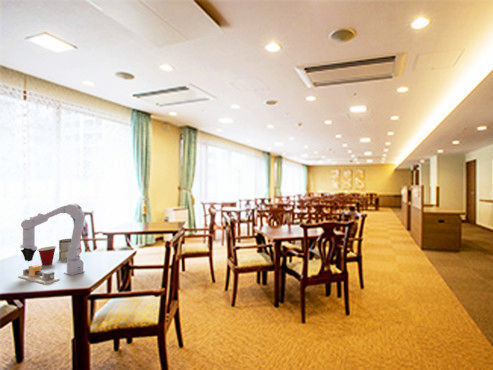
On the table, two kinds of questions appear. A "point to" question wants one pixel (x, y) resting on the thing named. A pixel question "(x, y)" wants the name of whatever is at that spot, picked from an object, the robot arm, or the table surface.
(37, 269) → the marker sleeve
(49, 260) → the plastic cup
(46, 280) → the cord board
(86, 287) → the table surface
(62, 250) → the coffee can
